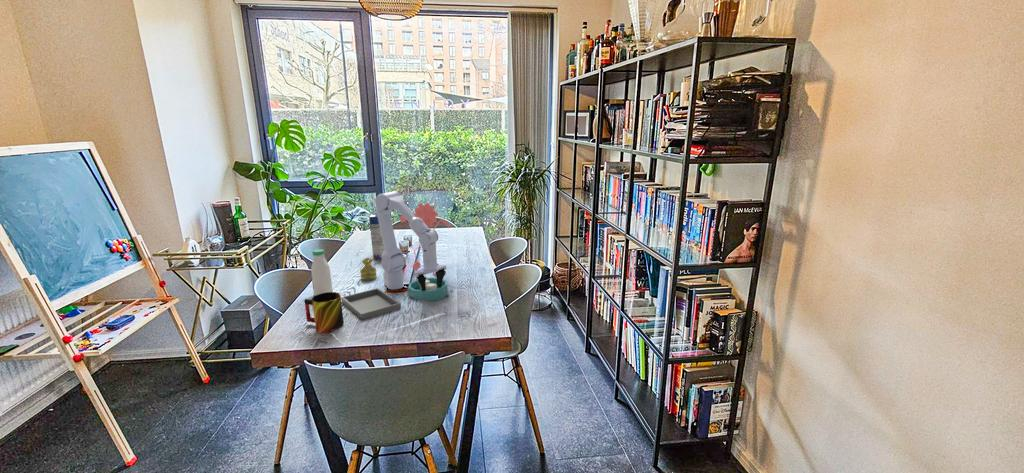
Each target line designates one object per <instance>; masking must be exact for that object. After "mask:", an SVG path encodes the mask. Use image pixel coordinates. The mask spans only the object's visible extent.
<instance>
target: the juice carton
mask: <svg viewBox="0 0 1024 473" xmlns="http://www.w3.org/2000/svg"><path fill="white" fill-rule="evenodd" d="M368 219H369V227H370V228H369V229H370V238H371V247H372V248H371V250H372V260H382V258H381V255H382V254H383V252H384V251H385V248H384V244H383V239H382V235H381V230H380V226H379V221H378V217H377V212H371V214H370V215H369V218H368Z"/></svg>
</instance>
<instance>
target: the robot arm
mask: <svg viewBox="0 0 1024 473" xmlns="http://www.w3.org/2000/svg"><path fill="white" fill-rule="evenodd" d="M374 202H375V206H376V210H375V211H376V212H375V213H377V217H378V221H379V226H380V230H381V235H382V239H383V244H384V248H385V251H384V252H383V254H382V255H381V258H382V259H381V261H380V264H381V267H382V269H383V270H384V271H383V283H384V286H385V287H386V288H387V289H389V290H401V289H403V287H404V288H406V289H408V286H406V285H405V284H404V274H403V269H404V266H405V264H406V257H405V256H404V252H403V251H402V249H400V248H399V247H398V245H397V240H396V235H395V231H394V227H393V226H394V225H393V222H392V217H391V213H392V212H393V210H394V211H397V212H398V213H399V214H400V215H401V216H403V217H404V218H406V219H407V220H406V221H407V222H408V221H409V223H408V226H409V228H410V230H411V231H413V232H414V234H415V235H417V237H418V242H419V244H420V246H421V247H420V248H421V249H422V261H423V262H422V263H423V265H422V267H423V268H419V269H418V270H417V271H416V270H414V272H413V275H414V277H415V278H416V280H418V281H419V283H420V286H421V289H422V291H426V286H425V282H426V278H427V277H426V276H425V275H427V274H431V273H432V274H433V273H434V274H436V277H435V278H437V286H438V287H441V284H442V280H444V277H445V276H446V275H445V274H446V273H447V272H446V270H447V265H446V264H439V265H437V263H438V260H437V259H438V258H437V256H438V255H437V242H438V240H439V234H438V233H437V231H436V229H434V228H433V229H434V230H433V229H432V228H431V227H429V226H428V224H427V225H426V224H425V223H424V222H423V220H422V219H420V218H419V217H415V216H414V214H415V213H413V212H412V210H411V209H410V208H409V206H408V205H407V204H406V203H405V202H404V196H402V194H401V193H400V192H399V191H397V190H393V191H389V192H383V193H378V195H377V196H376V197H375V199H374ZM404 285H405V286H404Z"/></svg>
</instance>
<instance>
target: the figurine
mask: <svg viewBox="0 0 1024 473" xmlns="http://www.w3.org/2000/svg"><path fill="white" fill-rule="evenodd" d="M435 209H436V207H435V205H430V203H429V202H426V203H424V205H423V204H422V202H419V203H418V205H417V207H415V208H414V212H415V213H413V214H414V216H415V217H419V218H420V219H422V220H423V222H424V223H425V224H426V225H427V226H428V227H429V228H432V227H433V225H434V223H435V224H436V225H435V226H434V228H433V230H436V228H437V227H438V225H439V224H440V223H442V224H443V225H444V226H446V227H448V228H449V229H450V228H451V224H449V223H448V222H447V221H446V220H445V219H443V218H440V219H439V221H438V219H437V216H439V213H438V212H437V211H436V210H435ZM399 221H400V223H404V222H406V221H407V222H408V224H409V221H408V220H407V219H406V218H404V217H403V216H402V215H401V216H400V218H399ZM419 248H421V245H419V246H417V247H416V248H414V249H413V252H414V257H415V262H414V263H413V264H412V269H414V271H417V270H420V269H421V266H422V264H421V262H420V261H418V259H417V256H416V252H415V251H416V250H418V249H419ZM437 265H440V264H439V263H438V262H437ZM432 275H433V276H434V275H435V272H434V273H433V272H432ZM444 276H446V274H445V275H444Z"/></svg>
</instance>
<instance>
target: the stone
mask: <svg viewBox="0 0 1024 473" xmlns="http://www.w3.org/2000/svg"><path fill="white" fill-rule="evenodd" d="M426 288H427V290H435V289H437V284H434V283H430V284H427V285H426Z"/></svg>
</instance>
